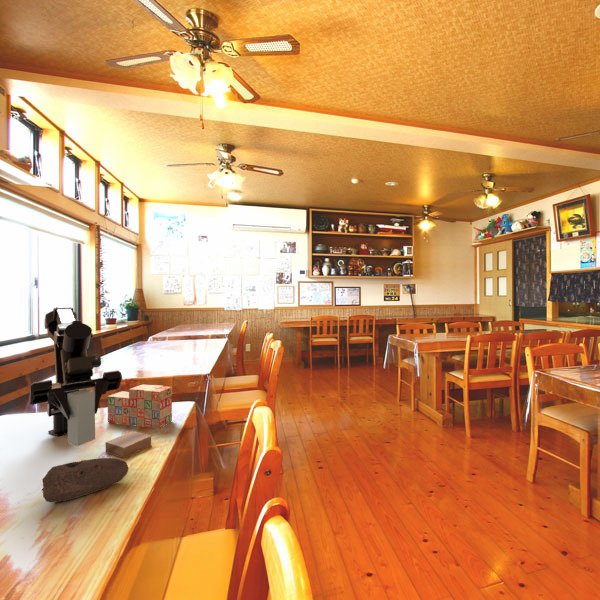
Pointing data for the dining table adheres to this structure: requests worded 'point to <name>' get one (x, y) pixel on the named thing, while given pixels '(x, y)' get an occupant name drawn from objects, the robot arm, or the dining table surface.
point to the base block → (128, 444)
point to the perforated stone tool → (82, 478)
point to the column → (81, 417)
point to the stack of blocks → (141, 406)
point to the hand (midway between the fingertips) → (82, 415)
